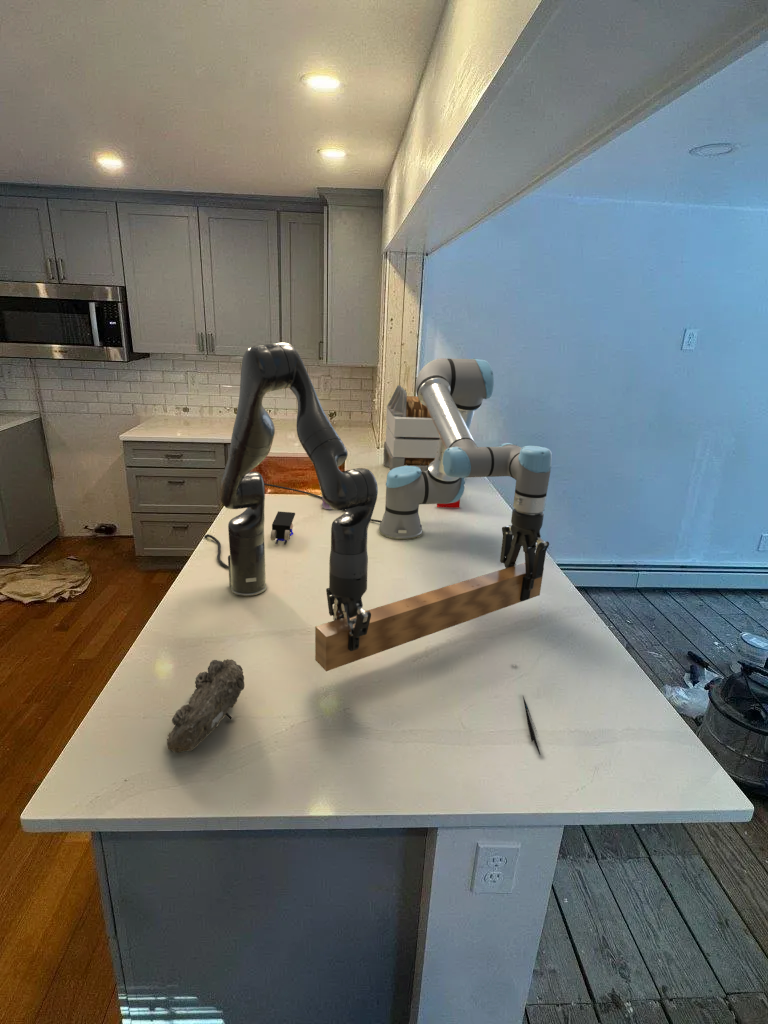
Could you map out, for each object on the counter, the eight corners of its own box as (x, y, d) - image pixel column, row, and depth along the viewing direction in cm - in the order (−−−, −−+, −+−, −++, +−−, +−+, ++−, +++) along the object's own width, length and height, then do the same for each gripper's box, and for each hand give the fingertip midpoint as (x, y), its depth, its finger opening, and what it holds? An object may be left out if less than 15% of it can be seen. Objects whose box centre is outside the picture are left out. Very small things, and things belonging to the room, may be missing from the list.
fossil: (192, 660, 117) (244, 628, 112) (224, 691, 120) (276, 661, 115) (142, 746, 98) (202, 712, 93) (182, 779, 101) (242, 748, 96)
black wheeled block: (290, 551, 185) (296, 529, 198) (289, 530, 182) (295, 510, 195) (270, 550, 185) (277, 528, 198) (268, 530, 181) (276, 509, 195)
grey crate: (382, 463, 289) (386, 382, 275) (445, 464, 293) (451, 384, 279) (390, 482, 257) (394, 392, 243) (460, 483, 261) (468, 394, 247)
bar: (526, 588, 152) (530, 560, 149) (539, 595, 148) (544, 567, 145) (315, 660, 117) (315, 626, 114) (326, 671, 113) (326, 636, 111)
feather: (514, 670, 128) (520, 664, 128) (540, 759, 101) (547, 752, 101) (508, 666, 128) (514, 660, 127) (532, 755, 101) (539, 747, 101)
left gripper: (314, 559, 115) (314, 632, 121) (351, 587, 104) (349, 666, 110) (346, 552, 119) (344, 623, 125) (384, 578, 108) (381, 655, 114)
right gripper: (491, 502, 143) (482, 584, 151) (546, 524, 129) (533, 614, 137) (512, 497, 147) (502, 578, 155) (567, 518, 134) (553, 606, 141)
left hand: (346, 643), depth 117 cm, fingers closed on bar, 4 cm apart
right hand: (516, 595), depth 146 cm, fingers closed on bar, 5 cm apart
